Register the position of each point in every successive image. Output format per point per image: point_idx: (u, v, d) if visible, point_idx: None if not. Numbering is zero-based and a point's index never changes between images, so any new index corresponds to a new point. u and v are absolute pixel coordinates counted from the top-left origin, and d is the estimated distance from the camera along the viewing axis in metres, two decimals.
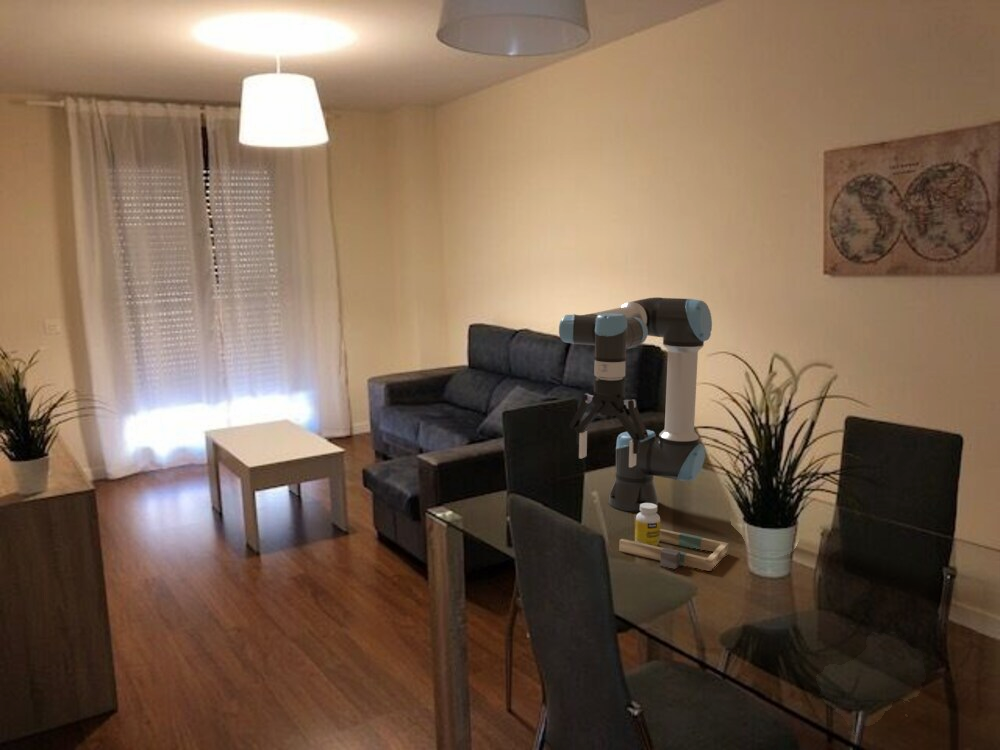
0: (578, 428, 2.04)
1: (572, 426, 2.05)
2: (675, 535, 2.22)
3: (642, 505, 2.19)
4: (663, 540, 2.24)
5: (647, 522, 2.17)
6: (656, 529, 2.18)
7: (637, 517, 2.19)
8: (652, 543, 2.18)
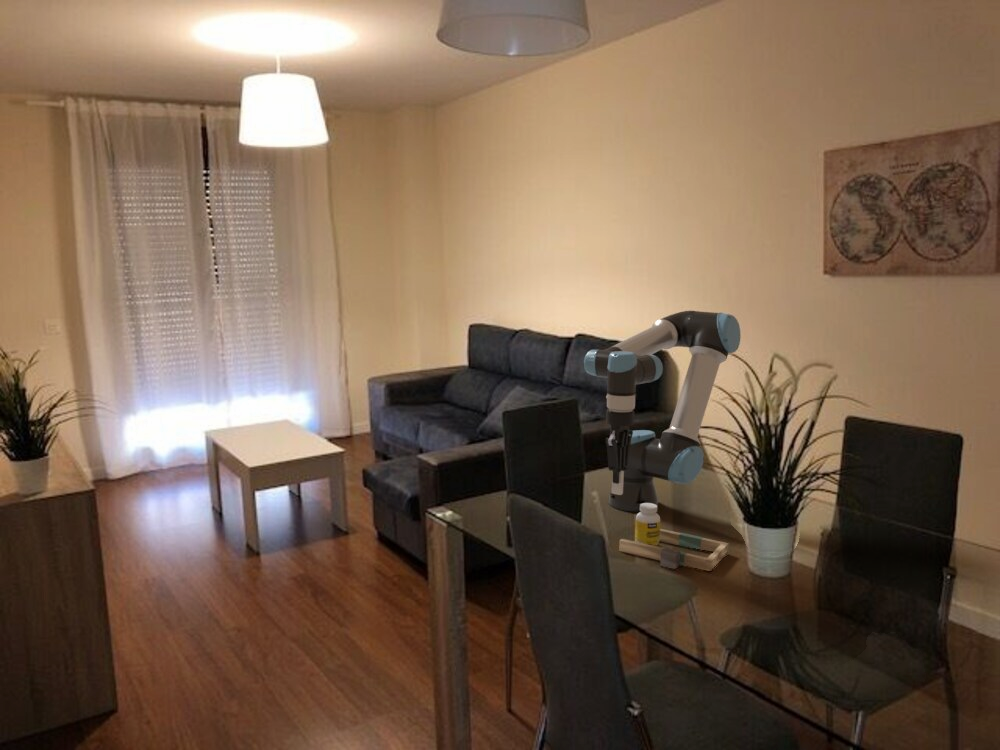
0: None
1: None
2: (675, 535, 2.22)
3: (642, 505, 2.19)
4: (663, 540, 2.24)
5: (647, 522, 2.17)
6: (656, 529, 2.18)
7: (637, 517, 2.19)
8: (652, 543, 2.18)
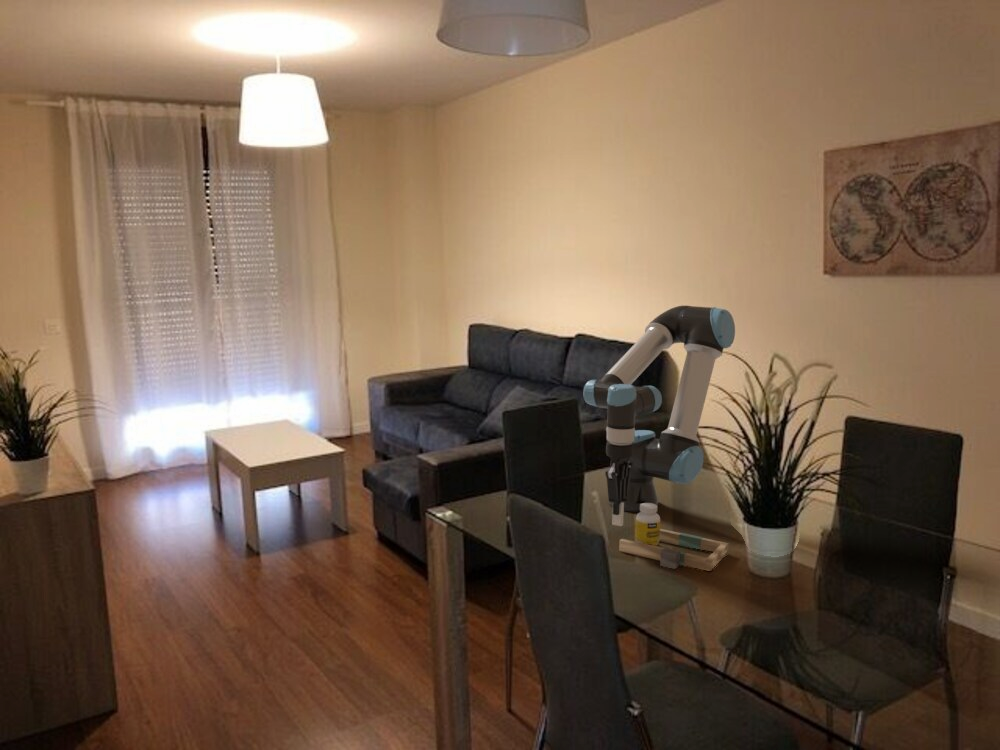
0: None
1: None
2: (675, 535, 2.22)
3: (642, 505, 2.19)
4: (663, 540, 2.24)
5: (647, 522, 2.17)
6: (656, 529, 2.18)
7: (637, 517, 2.19)
8: (652, 543, 2.18)
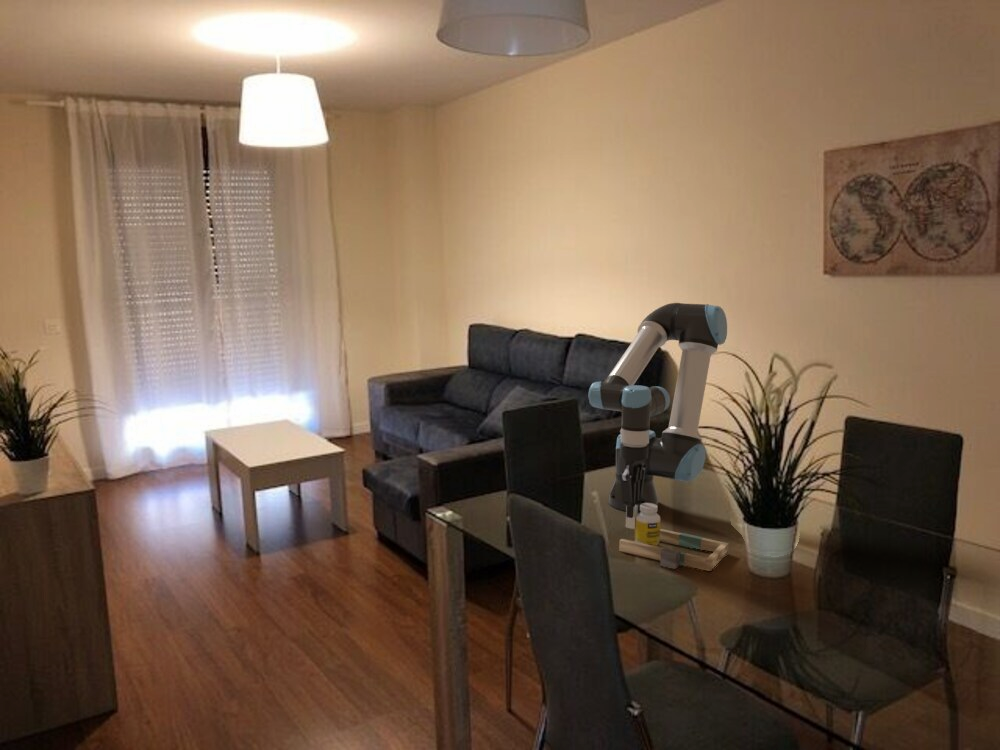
0: None
1: None
2: (675, 535, 2.22)
3: (642, 505, 2.19)
4: (663, 540, 2.24)
5: (648, 522, 2.17)
6: (656, 529, 2.18)
7: (637, 517, 2.19)
8: (652, 543, 2.18)
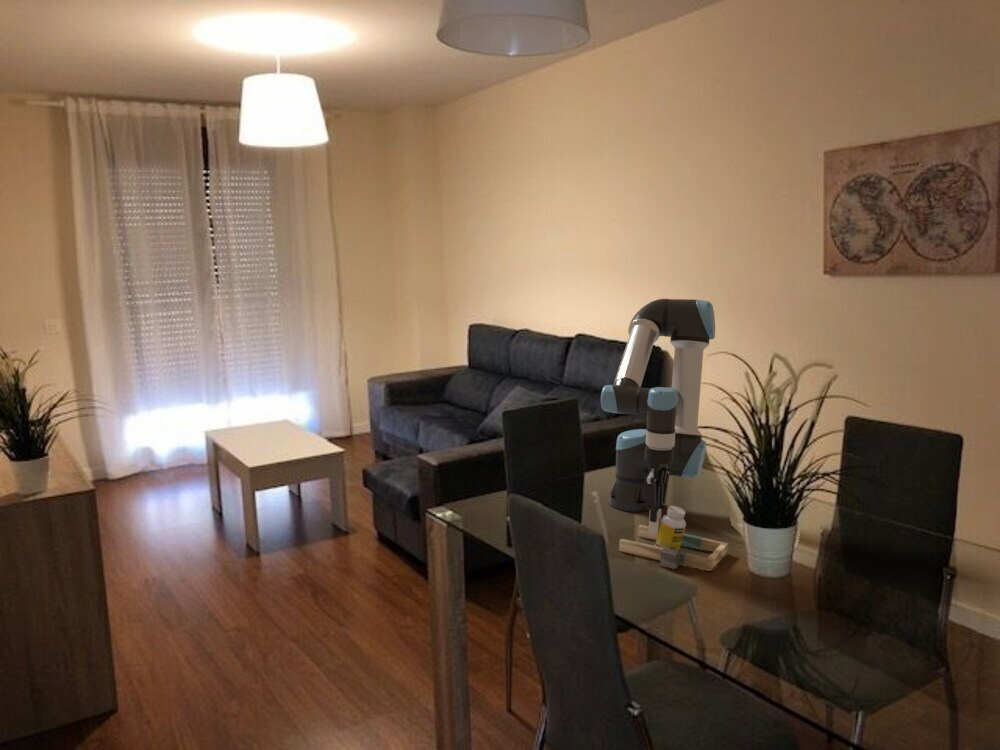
0: None
1: None
2: None
3: (670, 509, 2.15)
4: None
5: (675, 527, 2.13)
6: (681, 534, 2.14)
7: (664, 520, 2.15)
8: (675, 547, 2.15)
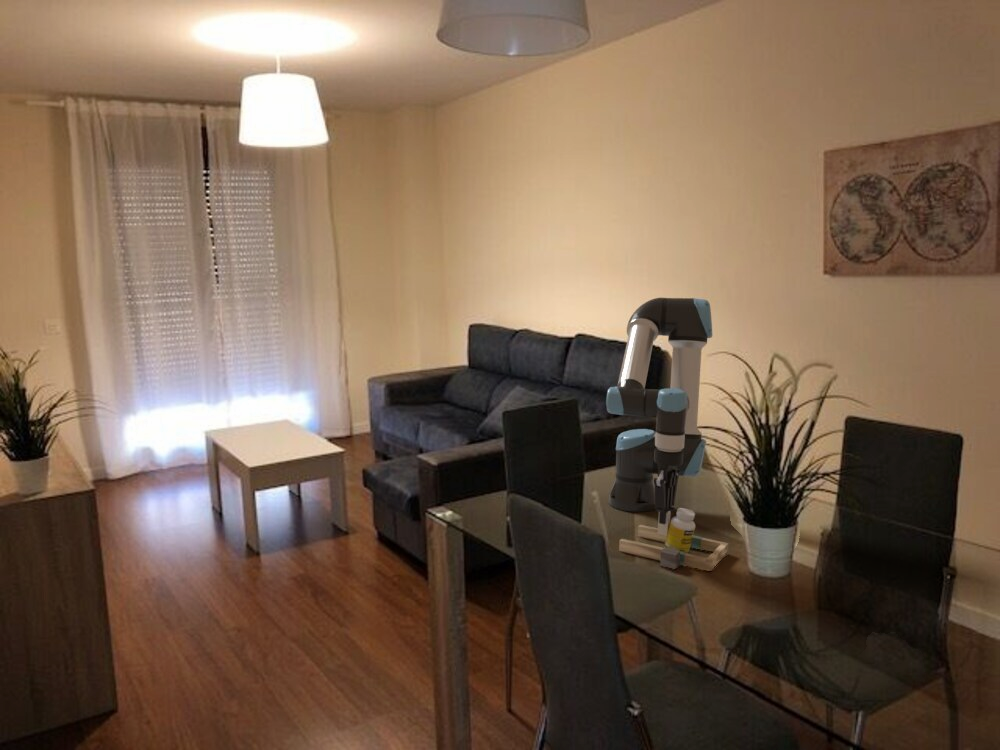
0: None
1: None
2: None
3: (680, 511, 2.13)
4: (663, 540, 2.24)
5: (685, 529, 2.12)
6: (691, 536, 2.13)
7: (673, 522, 2.13)
8: (685, 550, 2.13)
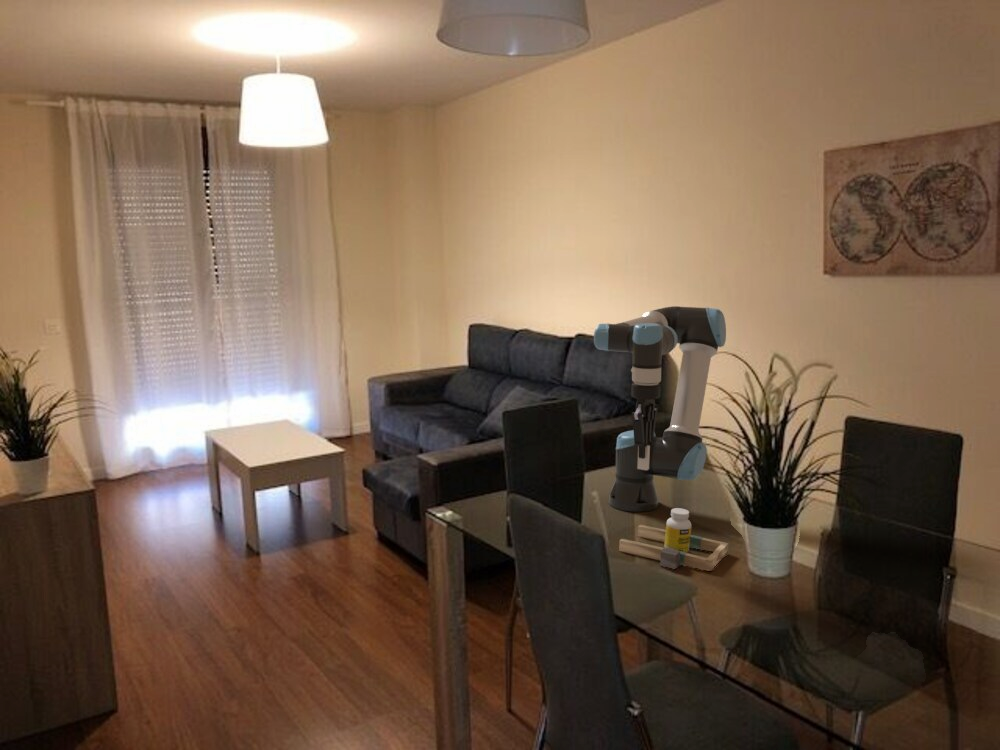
0: None
1: None
2: None
3: (674, 510, 2.15)
4: (663, 540, 2.24)
5: (680, 529, 2.12)
6: (687, 535, 2.13)
7: (668, 523, 2.14)
8: (683, 549, 2.14)
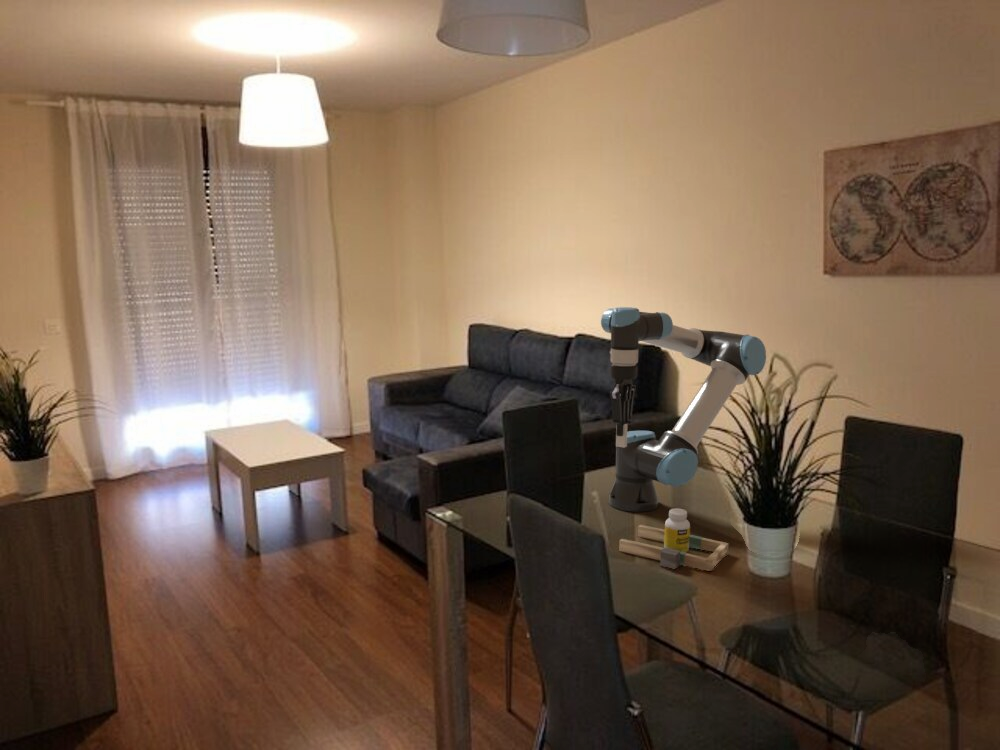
0: None
1: None
2: None
3: (671, 511, 2.15)
4: (663, 540, 2.24)
5: (677, 529, 2.12)
6: (686, 535, 2.13)
7: (666, 523, 2.14)
8: (682, 550, 2.14)
